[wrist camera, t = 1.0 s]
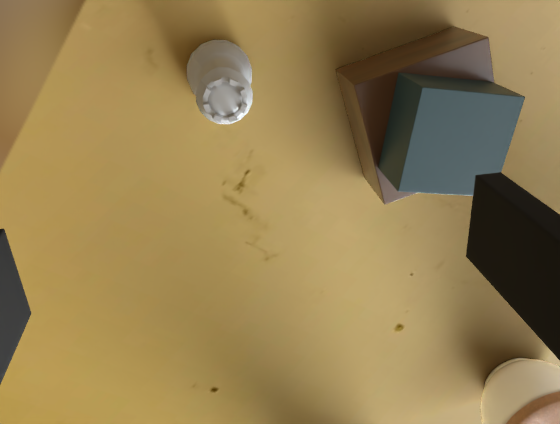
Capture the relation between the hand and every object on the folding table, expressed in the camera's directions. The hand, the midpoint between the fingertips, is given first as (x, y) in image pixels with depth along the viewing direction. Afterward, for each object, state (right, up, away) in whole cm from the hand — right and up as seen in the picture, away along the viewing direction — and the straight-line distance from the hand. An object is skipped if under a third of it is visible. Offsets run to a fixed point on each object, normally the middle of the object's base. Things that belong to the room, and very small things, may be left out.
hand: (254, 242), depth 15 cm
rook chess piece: (-4, +11, +22) cm, 25 cm away
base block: (+10, +9, +25) cm, 29 cm away
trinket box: (+25, -16, +40) cm, 50 cm away
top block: (+11, +7, +21) cm, 24 cm away
